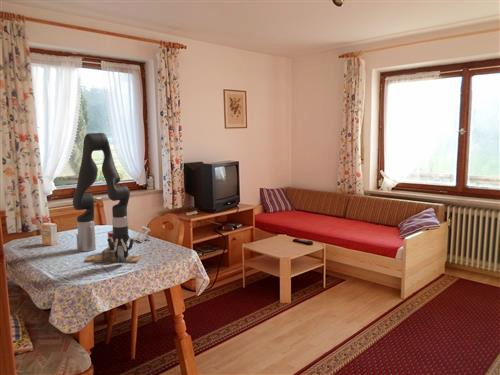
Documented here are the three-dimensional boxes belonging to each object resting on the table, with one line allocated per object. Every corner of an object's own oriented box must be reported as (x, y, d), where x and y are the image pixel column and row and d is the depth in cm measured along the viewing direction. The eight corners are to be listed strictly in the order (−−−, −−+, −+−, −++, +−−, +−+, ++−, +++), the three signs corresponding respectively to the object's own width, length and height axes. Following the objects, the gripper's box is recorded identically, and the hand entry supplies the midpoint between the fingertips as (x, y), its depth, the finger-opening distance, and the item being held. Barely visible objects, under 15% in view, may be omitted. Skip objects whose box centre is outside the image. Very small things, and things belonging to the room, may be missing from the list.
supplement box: (41, 244, 241) (40, 223, 239) (48, 242, 245) (47, 222, 243) (51, 245, 238) (50, 225, 236) (58, 243, 242) (56, 223, 240)
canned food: (125, 251, 224) (124, 231, 223) (112, 254, 219) (111, 233, 217) (119, 249, 230) (118, 229, 228) (106, 251, 224) (105, 231, 223)
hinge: (84, 262, 206) (83, 251, 205) (91, 257, 214) (91, 246, 213) (136, 262, 204) (136, 251, 203) (142, 258, 212) (141, 247, 211)
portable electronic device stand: (134, 240, 249) (134, 227, 248) (146, 238, 254) (145, 226, 253) (141, 243, 243) (140, 230, 242) (152, 241, 248) (151, 228, 247)
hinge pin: (116, 262, 199) (115, 245, 198) (119, 260, 203) (118, 243, 202) (124, 263, 198) (123, 245, 197) (127, 260, 202) (126, 243, 201)
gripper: (103, 226, 195) (105, 259, 197) (131, 227, 194) (132, 260, 196) (109, 223, 202) (111, 255, 204) (136, 223, 201) (137, 255, 204)
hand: (121, 257), depth 200 cm, fingers closed on hinge pin, 4 cm apart
